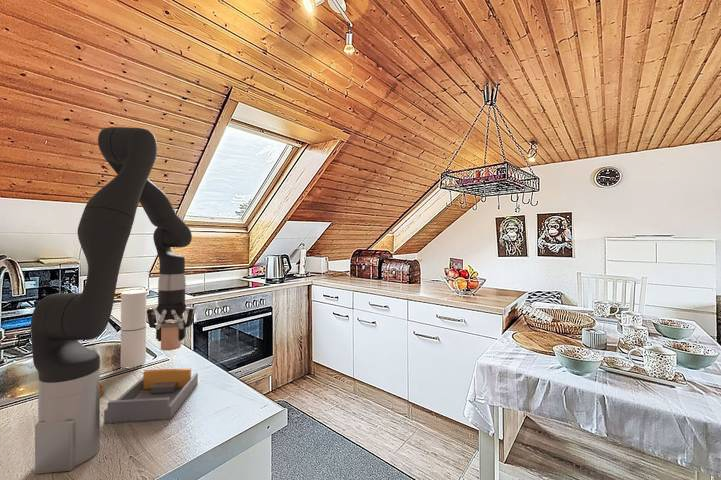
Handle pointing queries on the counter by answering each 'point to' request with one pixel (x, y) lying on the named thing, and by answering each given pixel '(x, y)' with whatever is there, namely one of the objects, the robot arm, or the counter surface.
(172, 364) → the counter surface
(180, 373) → the pusher
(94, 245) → the robot arm
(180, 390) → the lane
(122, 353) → the cylindrical container
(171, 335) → the jar
